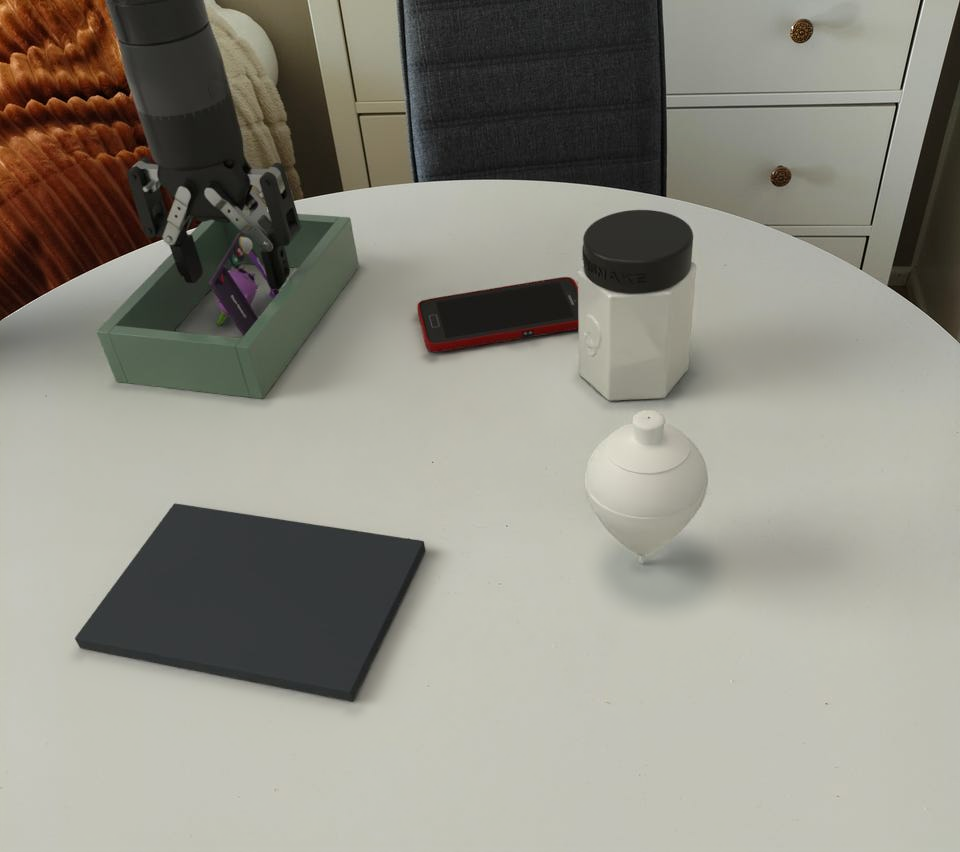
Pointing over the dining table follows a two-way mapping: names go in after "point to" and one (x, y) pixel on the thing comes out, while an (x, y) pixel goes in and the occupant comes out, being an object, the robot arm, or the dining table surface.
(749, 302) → the dining table surface
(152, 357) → the green rectangular tray frame
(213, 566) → the mat
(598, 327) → the jar
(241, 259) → the game card
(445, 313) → the cell phone
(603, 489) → the spinning top
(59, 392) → the dining table surface
